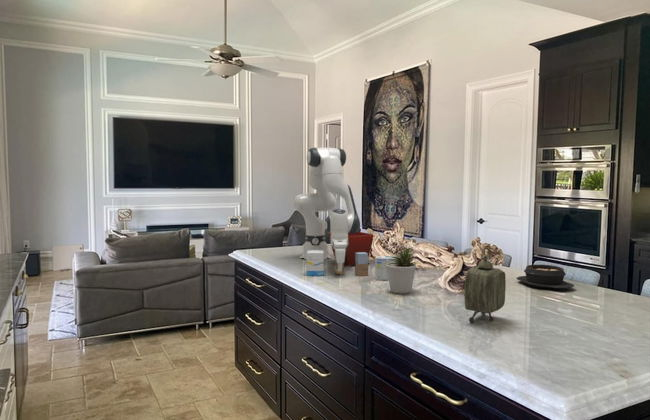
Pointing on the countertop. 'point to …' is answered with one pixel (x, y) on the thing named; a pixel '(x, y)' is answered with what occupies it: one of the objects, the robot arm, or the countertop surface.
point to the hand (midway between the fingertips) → (339, 269)
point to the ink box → (315, 263)
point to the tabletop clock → (484, 288)
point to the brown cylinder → (337, 269)
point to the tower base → (361, 269)
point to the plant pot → (356, 246)
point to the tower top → (361, 258)
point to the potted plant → (401, 272)
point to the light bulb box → (382, 267)
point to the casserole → (545, 277)
